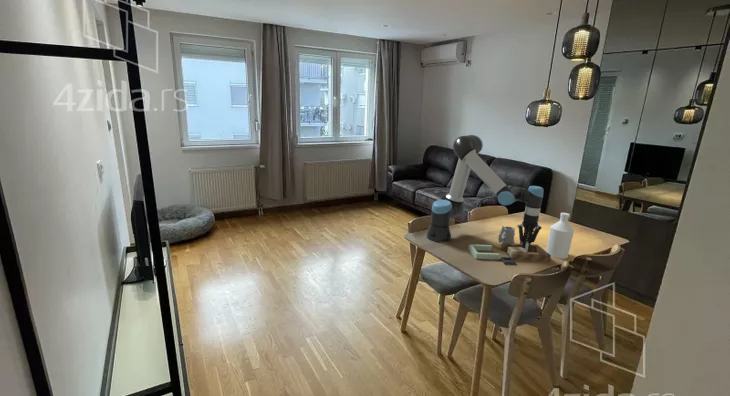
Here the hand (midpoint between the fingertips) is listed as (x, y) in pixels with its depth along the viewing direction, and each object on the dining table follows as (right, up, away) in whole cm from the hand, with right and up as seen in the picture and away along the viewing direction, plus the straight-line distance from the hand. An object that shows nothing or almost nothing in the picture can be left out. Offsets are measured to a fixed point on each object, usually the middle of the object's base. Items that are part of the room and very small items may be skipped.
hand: (524, 253), depth 198 cm
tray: (-13, -3, -9) cm, 16 cm away
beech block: (-5, -1, 0) cm, 5 cm away
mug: (-5, +3, +17) cm, 18 cm away
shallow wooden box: (+1, -1, +1) cm, 2 cm away
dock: (-23, -1, 0) cm, 23 cm away
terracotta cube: (+5, +1, +12) cm, 13 cm away
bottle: (+20, -2, +4) cm, 21 cm away
